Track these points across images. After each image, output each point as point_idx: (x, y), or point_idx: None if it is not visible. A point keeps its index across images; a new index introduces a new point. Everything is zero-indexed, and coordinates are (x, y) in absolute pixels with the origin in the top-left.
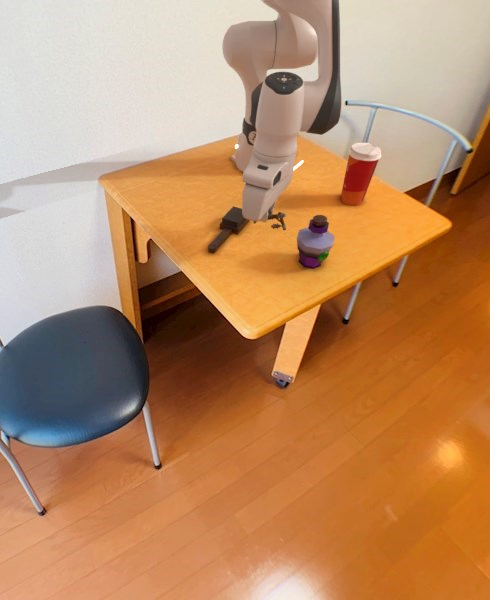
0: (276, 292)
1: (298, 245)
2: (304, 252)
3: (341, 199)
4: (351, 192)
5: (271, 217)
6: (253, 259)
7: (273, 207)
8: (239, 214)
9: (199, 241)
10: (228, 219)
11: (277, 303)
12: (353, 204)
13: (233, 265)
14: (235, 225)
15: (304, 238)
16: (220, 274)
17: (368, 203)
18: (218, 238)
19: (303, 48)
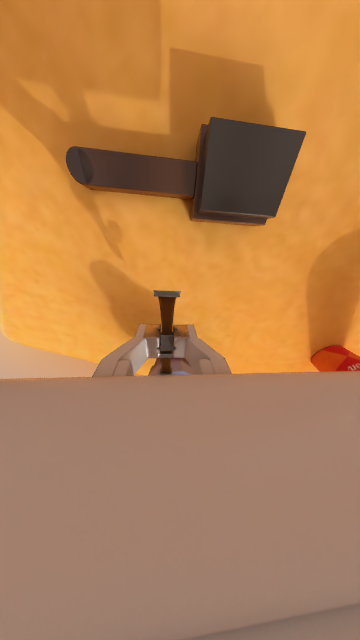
0: (89, 340)
1: (157, 366)
2: (150, 371)
3: (328, 348)
4: (332, 371)
5: (160, 353)
6: (131, 288)
7: (190, 362)
8: (248, 193)
9: (97, 79)
10: (207, 159)
11: (72, 346)
12: (312, 360)
13: (88, 260)
14: (199, 203)
15: None
16: (41, 246)
17: (314, 369)
18: (128, 169)
19: None
